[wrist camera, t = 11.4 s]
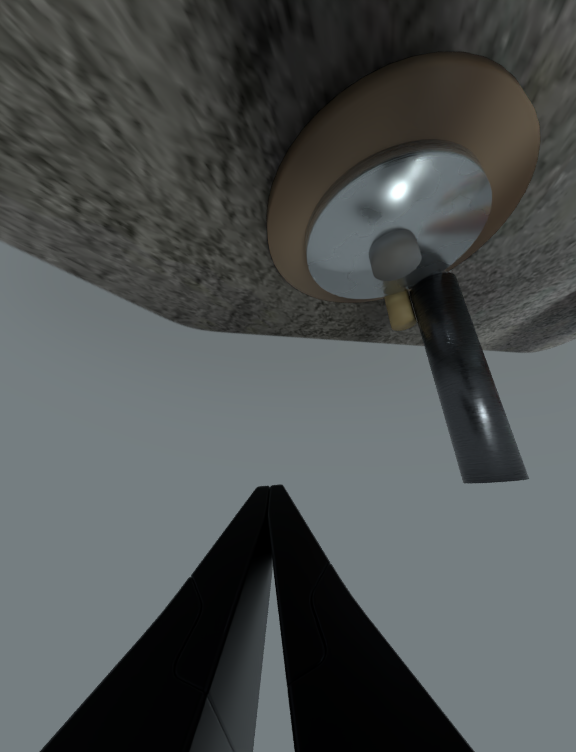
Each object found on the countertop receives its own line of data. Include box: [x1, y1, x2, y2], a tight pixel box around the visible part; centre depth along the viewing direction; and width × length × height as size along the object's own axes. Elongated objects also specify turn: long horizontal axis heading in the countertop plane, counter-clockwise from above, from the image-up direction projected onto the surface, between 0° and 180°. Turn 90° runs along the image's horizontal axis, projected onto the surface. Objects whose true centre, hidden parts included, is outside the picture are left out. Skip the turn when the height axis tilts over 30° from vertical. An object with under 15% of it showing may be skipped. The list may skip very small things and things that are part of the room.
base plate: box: [267, 52, 540, 331], centre depth 15 cm, size 13×13×4 cm
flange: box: [305, 139, 529, 483], centre depth 14 cm, size 11×9×13 cm
